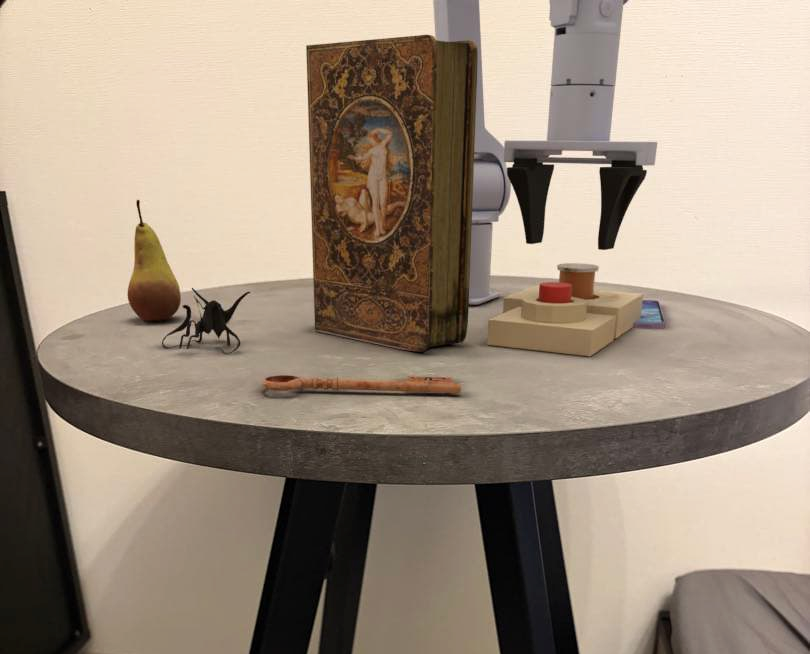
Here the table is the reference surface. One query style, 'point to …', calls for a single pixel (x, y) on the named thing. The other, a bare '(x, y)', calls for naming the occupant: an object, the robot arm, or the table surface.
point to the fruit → (152, 278)
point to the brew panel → (552, 327)
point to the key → (364, 384)
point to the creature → (208, 321)
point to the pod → (579, 278)
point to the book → (392, 188)
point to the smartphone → (650, 316)
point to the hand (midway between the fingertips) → (569, 246)
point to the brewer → (596, 306)
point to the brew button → (555, 292)
